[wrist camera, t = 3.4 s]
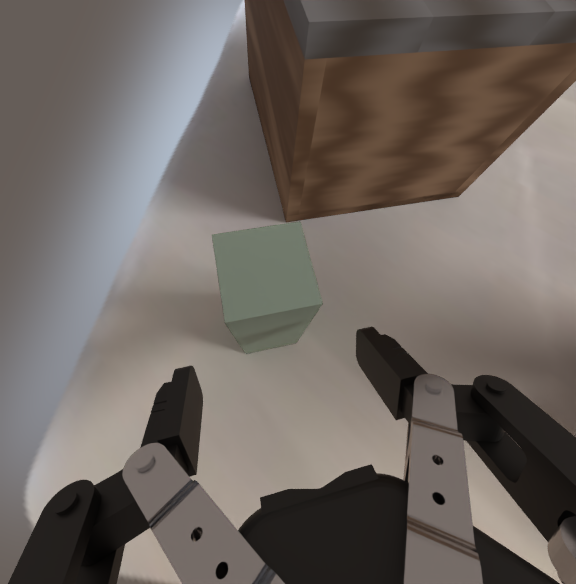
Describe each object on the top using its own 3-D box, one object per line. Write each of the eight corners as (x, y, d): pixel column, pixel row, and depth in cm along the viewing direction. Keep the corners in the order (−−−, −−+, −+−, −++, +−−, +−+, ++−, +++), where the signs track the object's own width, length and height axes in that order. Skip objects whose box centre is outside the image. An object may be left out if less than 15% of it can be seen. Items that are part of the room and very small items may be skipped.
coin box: (392, 66, 37) (479, -153, 22) (458, 196, 30) (649, 7, 15) (249, 76, 34) (234, -167, 19) (286, 222, 27) (309, 22, 12)
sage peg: (285, 296, 25) (300, 221, 13) (296, 343, 23) (322, 303, 12) (237, 305, 24) (211, 234, 13) (246, 353, 23) (224, 322, 11)
